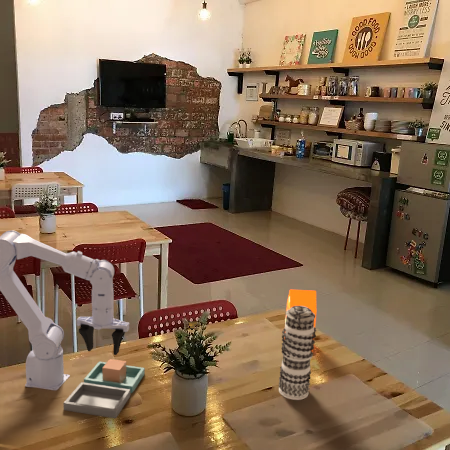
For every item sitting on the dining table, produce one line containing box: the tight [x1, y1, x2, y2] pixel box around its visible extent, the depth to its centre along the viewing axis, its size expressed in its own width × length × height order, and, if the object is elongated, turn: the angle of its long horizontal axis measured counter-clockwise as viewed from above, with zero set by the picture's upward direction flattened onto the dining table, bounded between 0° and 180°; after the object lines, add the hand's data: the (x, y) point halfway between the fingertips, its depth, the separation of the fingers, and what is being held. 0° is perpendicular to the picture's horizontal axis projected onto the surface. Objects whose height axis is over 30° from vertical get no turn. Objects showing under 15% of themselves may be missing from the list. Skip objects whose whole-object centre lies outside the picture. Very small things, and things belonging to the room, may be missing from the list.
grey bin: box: [63, 381, 131, 419], centre depth 131 cm, size 14×10×2 cm
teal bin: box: [83, 361, 146, 394], centre depth 142 cm, size 14×10×2 cm
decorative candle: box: [278, 306, 317, 401], centre depth 139 cm, size 9×9×25 cm
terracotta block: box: [102, 358, 127, 383], centre depth 142 cm, size 5×5×5 cm
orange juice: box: [284, 289, 318, 353], centre depth 166 cm, size 8×9×20 cm
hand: (103, 351), depth 140 cm, fingers open, 7 cm apart
